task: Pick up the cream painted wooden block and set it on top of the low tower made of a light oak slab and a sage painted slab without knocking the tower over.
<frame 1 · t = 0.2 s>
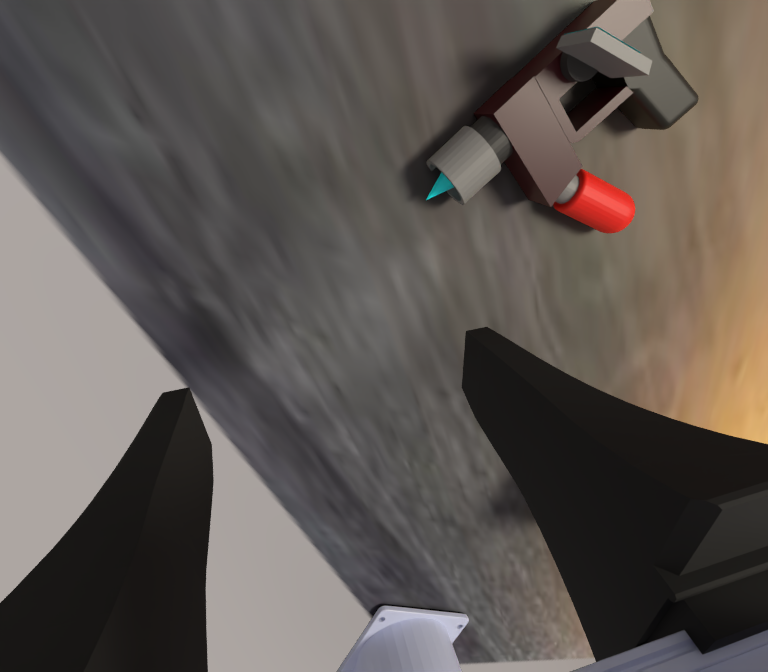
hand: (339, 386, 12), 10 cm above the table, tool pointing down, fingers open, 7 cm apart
toy gun: (547, 157, 23), on the table
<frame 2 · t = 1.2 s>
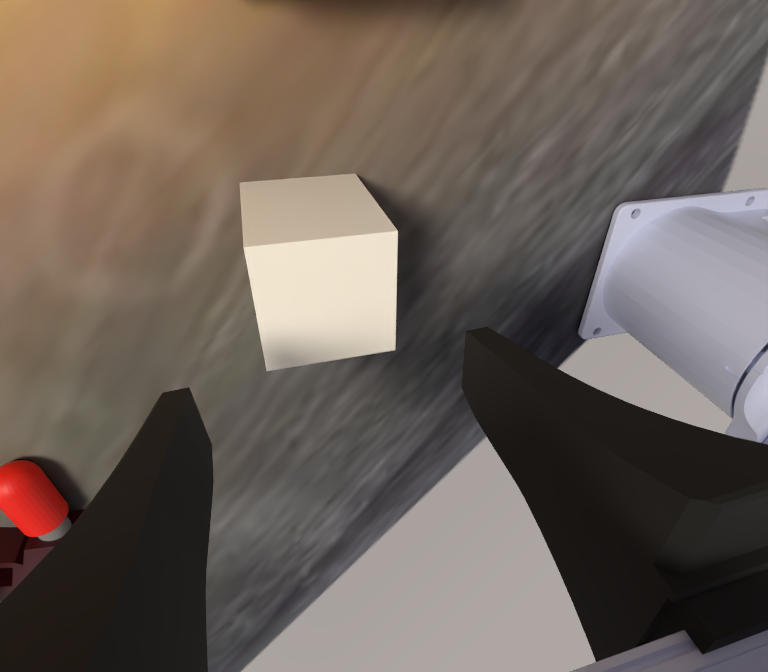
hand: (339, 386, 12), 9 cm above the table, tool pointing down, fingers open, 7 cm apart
toy gun: (42, 509, 25), on the table
cream block: (304, 232, 20), on the table
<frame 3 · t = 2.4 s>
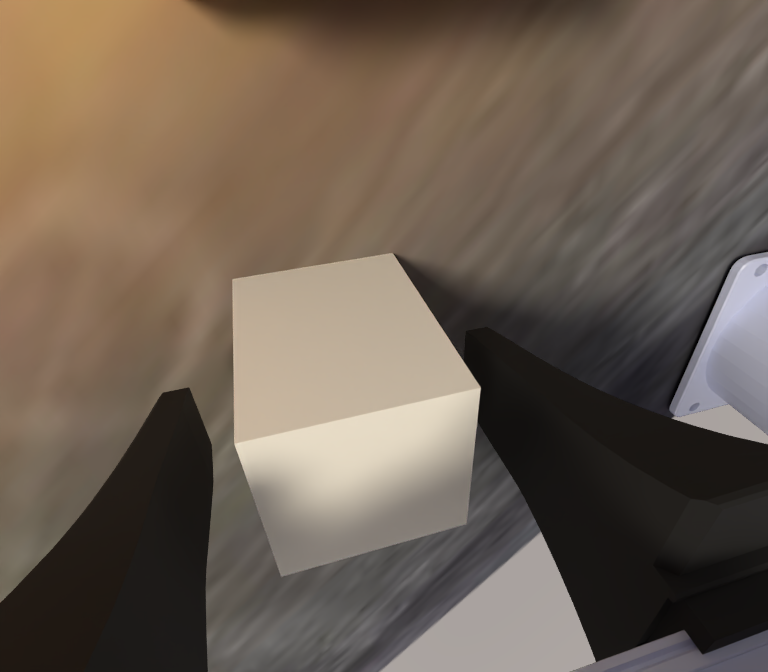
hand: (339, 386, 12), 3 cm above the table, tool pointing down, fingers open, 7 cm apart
cream block: (324, 330, 14), on the table
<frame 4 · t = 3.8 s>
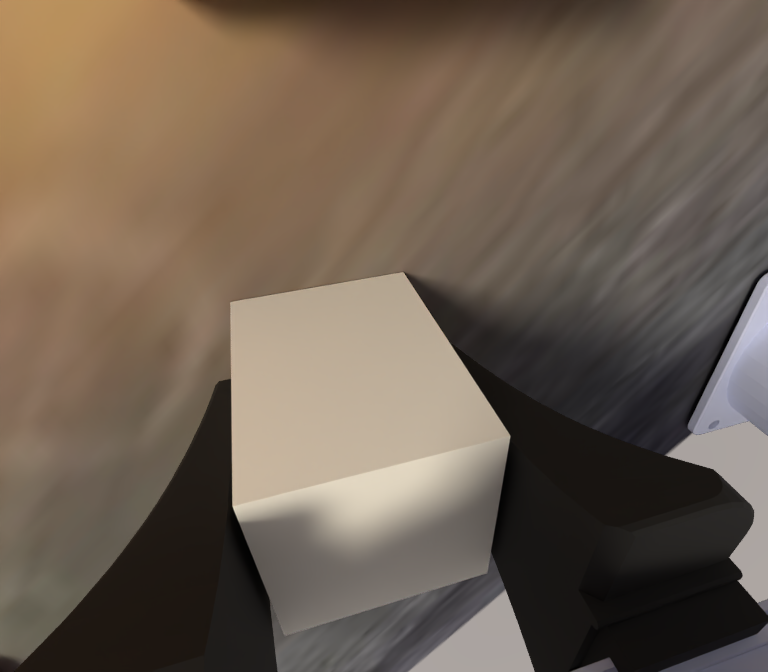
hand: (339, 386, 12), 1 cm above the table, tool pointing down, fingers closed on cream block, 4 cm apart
cream block: (329, 354, 13), on the table, touching gripper
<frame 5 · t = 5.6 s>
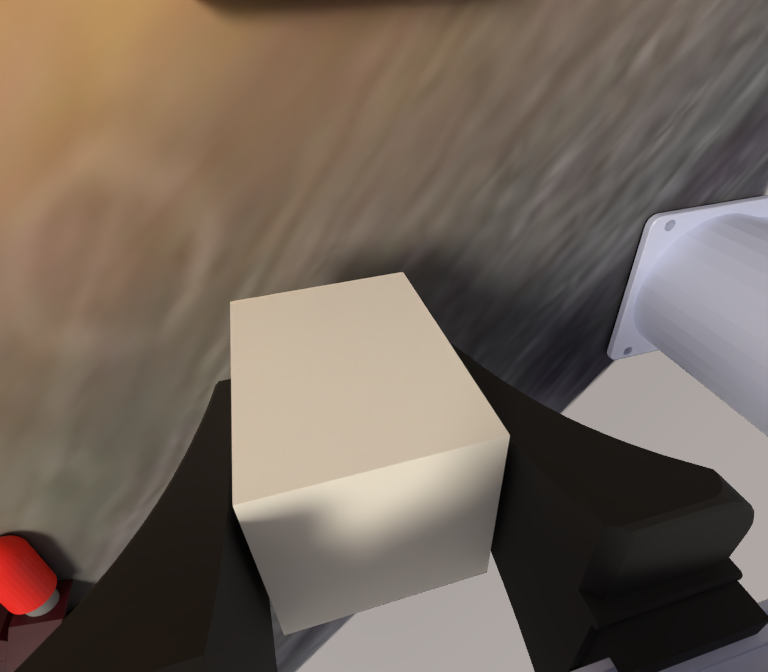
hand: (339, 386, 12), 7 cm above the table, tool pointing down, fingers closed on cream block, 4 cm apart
toy gun: (28, 578, 24), on the table
cream block: (329, 354, 13), point 5 cm above the table, touching gripper
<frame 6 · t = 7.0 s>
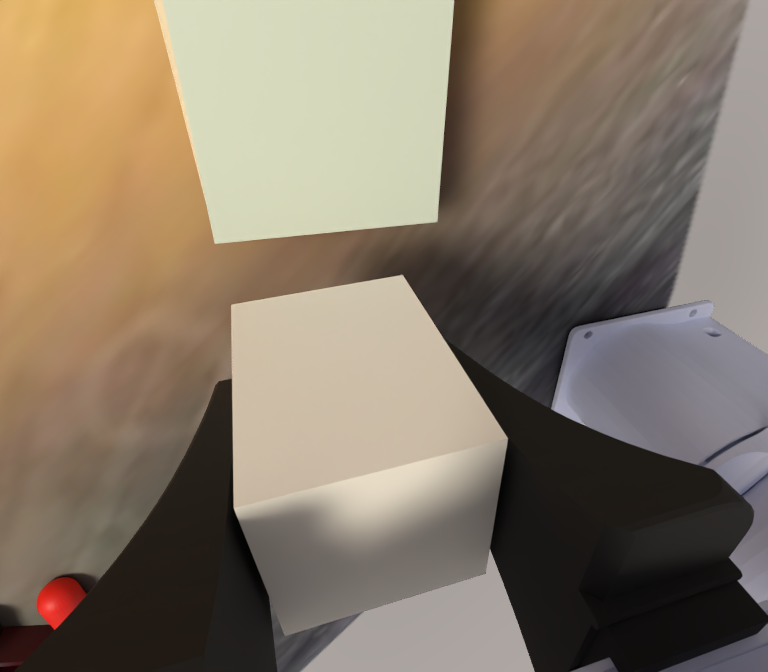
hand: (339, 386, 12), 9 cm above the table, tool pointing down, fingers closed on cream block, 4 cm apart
sage top slab: (307, 38, 14), point 2 cm above the table, touching oak base slab
oak base slab: (301, 46, 16), on the table, touching sage top slab
toy gun: (72, 608, 29), on the table
cream block: (329, 356, 13), point 7 cm above the table, touching gripper
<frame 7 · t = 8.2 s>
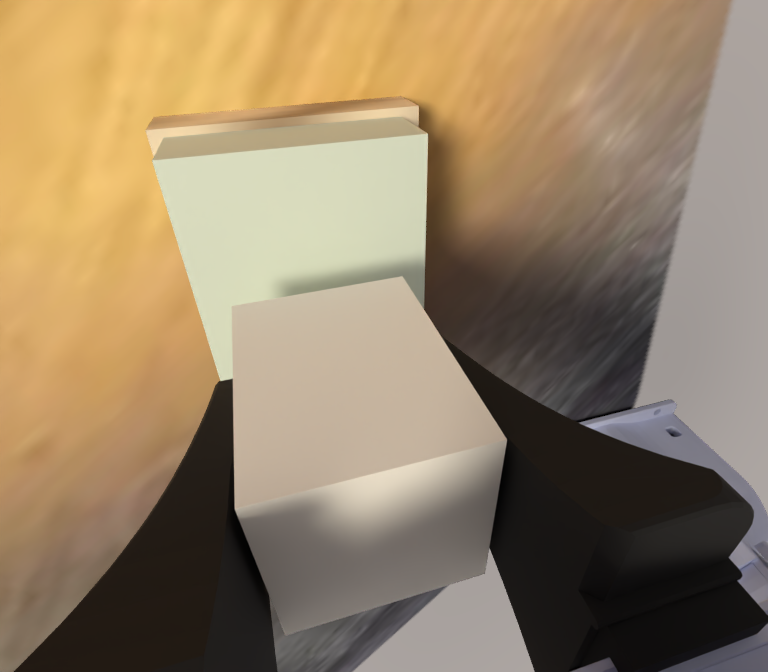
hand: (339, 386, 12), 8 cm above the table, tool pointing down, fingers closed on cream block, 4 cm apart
sage top slab: (309, 275, 17), point 2 cm above the table
oak base slab: (303, 252, 19), on the table
cream block: (329, 357, 13), point 6 cm above the table, touching gripper
when the fingers open (7 cm above the table, at t = 9.2 s): cream block drops 2 cm, resting on sage top slab.
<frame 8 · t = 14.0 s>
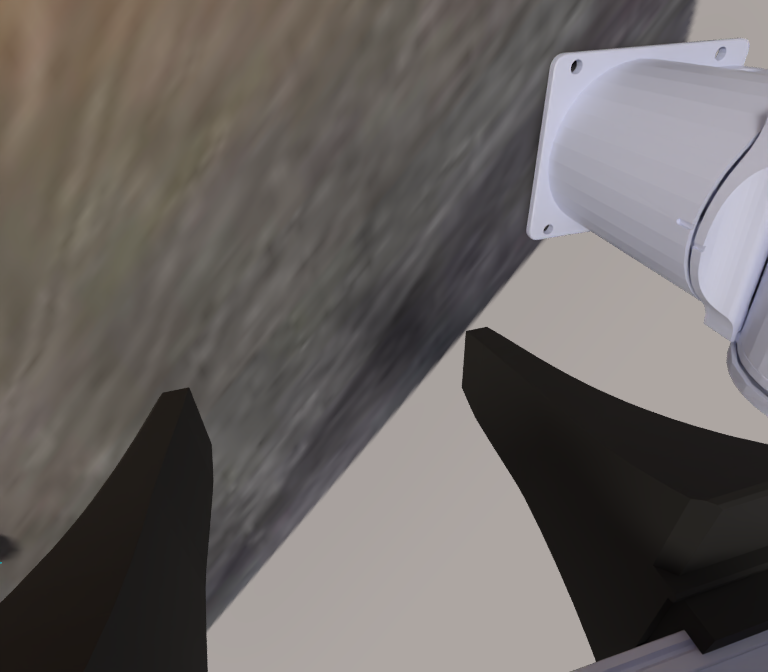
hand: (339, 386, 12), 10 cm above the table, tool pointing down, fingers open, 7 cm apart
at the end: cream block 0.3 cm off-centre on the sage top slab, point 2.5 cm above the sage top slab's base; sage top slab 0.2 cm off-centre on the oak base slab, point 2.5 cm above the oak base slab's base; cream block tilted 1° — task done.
